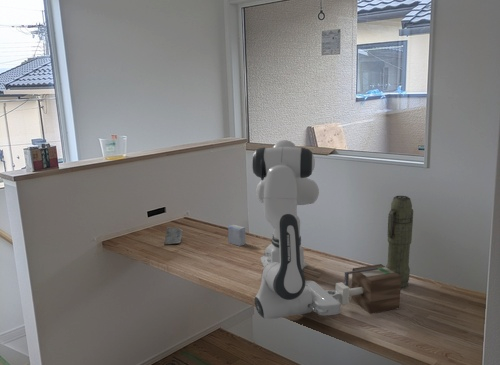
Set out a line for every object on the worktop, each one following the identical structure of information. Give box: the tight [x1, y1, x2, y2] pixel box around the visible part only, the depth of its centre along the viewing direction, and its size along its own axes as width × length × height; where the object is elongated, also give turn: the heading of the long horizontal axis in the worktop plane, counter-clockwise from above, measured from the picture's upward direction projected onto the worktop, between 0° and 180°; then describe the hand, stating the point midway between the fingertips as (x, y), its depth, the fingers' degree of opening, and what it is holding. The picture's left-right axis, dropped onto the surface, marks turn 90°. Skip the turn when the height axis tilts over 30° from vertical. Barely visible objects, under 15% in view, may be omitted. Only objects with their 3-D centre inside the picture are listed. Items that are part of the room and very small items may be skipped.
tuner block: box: [350, 263, 402, 315], centre depth 170 cm, size 12×12×12 cm
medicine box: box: [227, 224, 247, 247], centre depth 236 cm, size 8×4×9 cm, turn 48°
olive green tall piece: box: [385, 195, 414, 290], centre depth 185 cm, size 9×12×35 cm
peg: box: [335, 268, 378, 306], centre depth 168 cm, size 5×16×10 cm, turn 109°
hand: (338, 294), depth 166 cm, fingers closed, pressing on peg
